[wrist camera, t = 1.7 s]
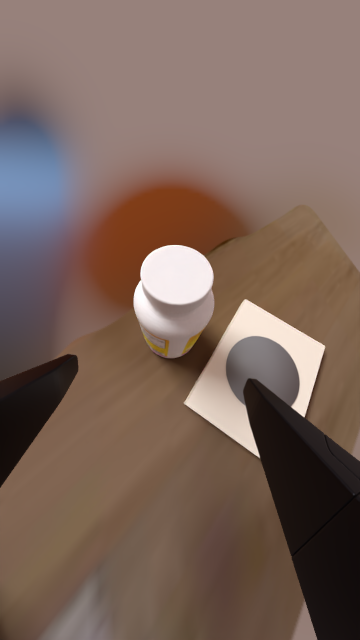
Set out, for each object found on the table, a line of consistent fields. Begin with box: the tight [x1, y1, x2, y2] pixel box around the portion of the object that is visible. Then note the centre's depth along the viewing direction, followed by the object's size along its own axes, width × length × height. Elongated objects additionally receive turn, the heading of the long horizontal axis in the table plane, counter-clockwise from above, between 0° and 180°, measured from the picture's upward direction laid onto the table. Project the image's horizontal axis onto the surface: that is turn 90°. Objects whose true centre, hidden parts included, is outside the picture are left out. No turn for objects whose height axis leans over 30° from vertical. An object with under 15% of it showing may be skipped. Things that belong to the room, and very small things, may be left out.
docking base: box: [184, 299, 325, 458], centre depth 21 cm, size 16×12×1 cm
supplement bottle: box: [134, 245, 214, 358], centre depth 17 cm, size 7×7×13 cm
